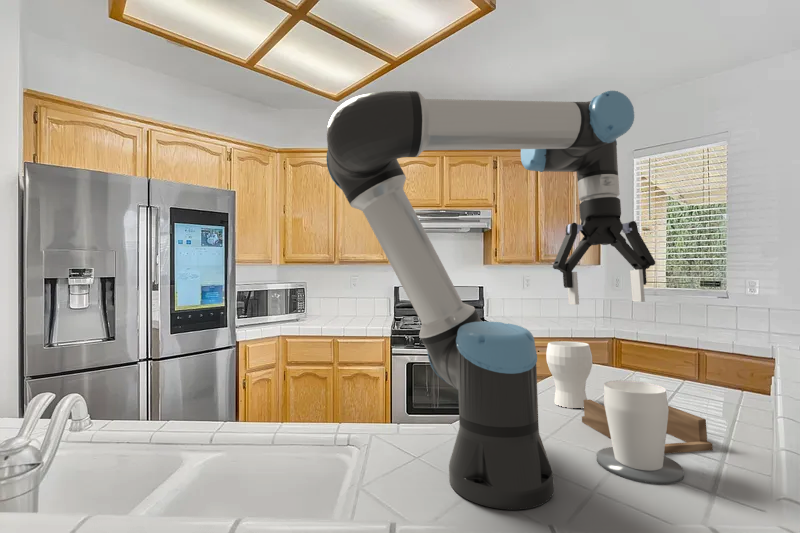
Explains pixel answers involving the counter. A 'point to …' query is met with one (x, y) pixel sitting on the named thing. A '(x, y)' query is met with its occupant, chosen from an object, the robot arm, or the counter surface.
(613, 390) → the cup
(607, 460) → the trivet
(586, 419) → the cradle
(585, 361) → the cup
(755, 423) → the counter surface
